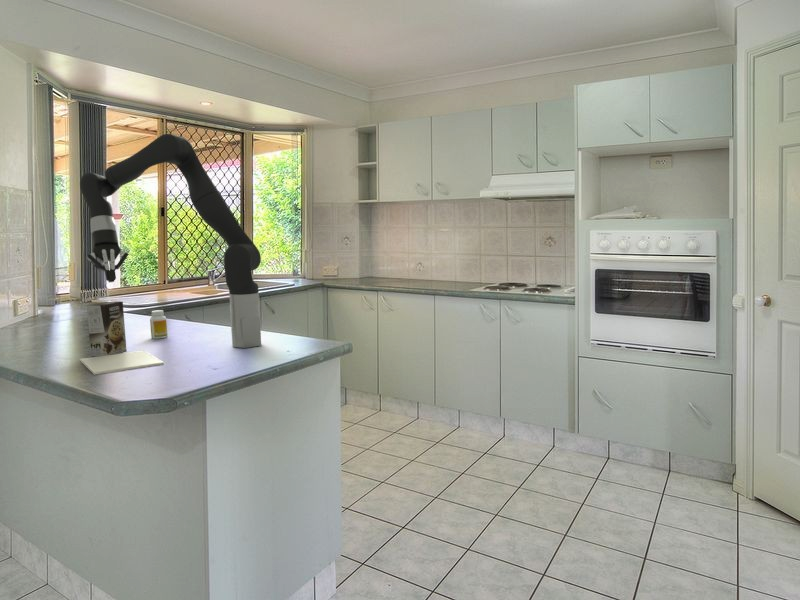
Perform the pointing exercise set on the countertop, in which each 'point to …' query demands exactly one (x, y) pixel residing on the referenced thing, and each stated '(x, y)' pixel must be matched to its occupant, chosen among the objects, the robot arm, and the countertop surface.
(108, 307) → the coffee box
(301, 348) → the countertop surface
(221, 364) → the countertop surface
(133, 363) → the cream board
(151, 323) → the supplement bottle
